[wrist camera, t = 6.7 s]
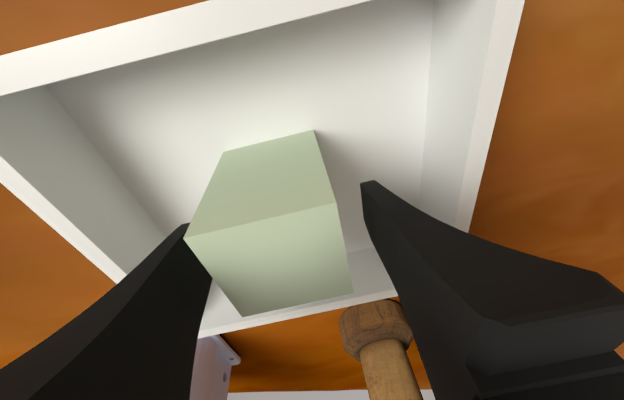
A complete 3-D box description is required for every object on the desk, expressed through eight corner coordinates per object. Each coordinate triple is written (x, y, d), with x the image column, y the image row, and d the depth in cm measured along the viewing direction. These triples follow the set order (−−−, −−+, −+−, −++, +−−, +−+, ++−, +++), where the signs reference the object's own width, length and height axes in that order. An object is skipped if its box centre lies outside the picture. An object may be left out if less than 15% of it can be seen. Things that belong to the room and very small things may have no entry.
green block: (329, 202, 14) (353, 292, 9) (255, 219, 14) (242, 317, 10) (313, 129, 12) (336, 202, 7) (223, 151, 12) (183, 238, 7)
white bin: (423, 236, 18) (455, 283, 14) (200, 285, 18) (183, 341, 15) (450, -48, 9) (546, -89, 6) (21, 65, 10) (-112, 85, 6)
